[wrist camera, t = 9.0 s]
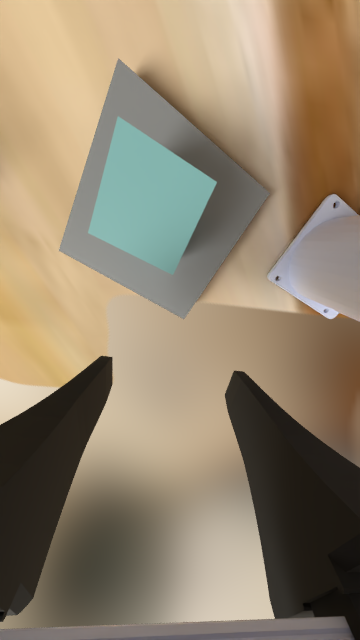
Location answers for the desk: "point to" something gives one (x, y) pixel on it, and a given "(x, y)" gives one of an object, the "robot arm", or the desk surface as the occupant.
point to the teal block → (148, 199)
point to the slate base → (214, 224)
